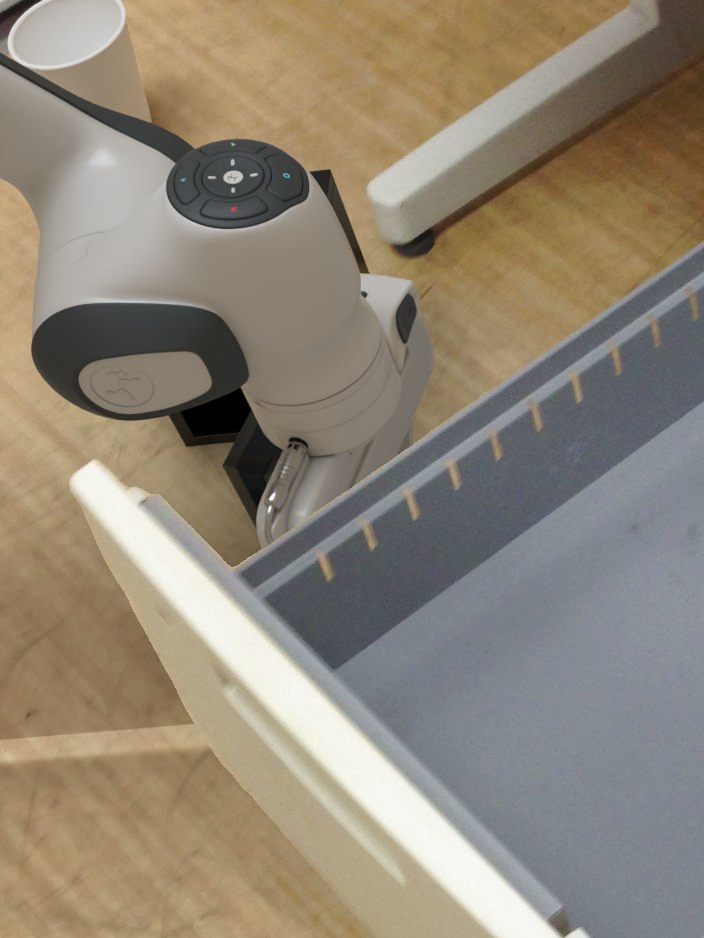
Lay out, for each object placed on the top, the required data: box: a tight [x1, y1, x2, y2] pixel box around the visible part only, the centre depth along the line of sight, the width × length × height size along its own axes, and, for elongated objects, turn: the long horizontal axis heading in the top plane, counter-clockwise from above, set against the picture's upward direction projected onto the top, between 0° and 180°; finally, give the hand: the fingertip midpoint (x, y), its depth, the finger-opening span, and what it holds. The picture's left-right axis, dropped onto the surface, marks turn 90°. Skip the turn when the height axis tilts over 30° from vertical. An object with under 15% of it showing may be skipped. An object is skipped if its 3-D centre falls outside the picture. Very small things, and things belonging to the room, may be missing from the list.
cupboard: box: [168, 168, 371, 448], centre depth 129 cm, size 12×14×14 cm
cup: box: [6, 0, 153, 124], centre depth 149 cm, size 10×10×11 cm
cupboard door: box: [222, 410, 283, 531], centre depth 120 cm, size 9×14×14 cm, turn 163°
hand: (383, 522), depth 117 cm, fingers open, 7 cm apart
